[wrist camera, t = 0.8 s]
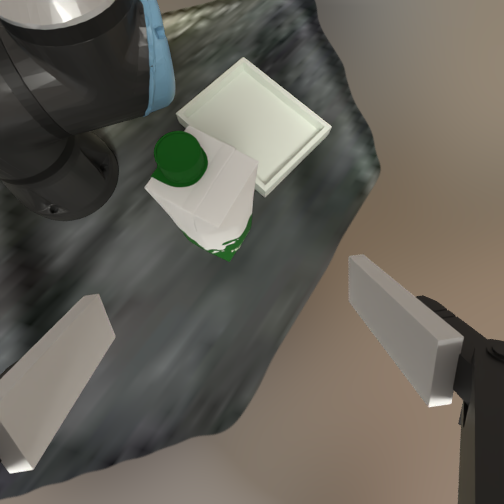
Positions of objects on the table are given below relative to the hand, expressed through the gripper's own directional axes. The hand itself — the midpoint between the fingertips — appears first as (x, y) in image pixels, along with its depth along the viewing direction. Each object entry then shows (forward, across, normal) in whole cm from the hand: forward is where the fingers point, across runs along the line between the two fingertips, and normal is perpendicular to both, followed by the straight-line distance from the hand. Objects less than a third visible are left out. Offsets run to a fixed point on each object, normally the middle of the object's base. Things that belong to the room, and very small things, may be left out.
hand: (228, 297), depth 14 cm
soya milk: (+28, -2, -5) cm, 29 cm away
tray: (+38, +5, +10) cm, 40 cm away
